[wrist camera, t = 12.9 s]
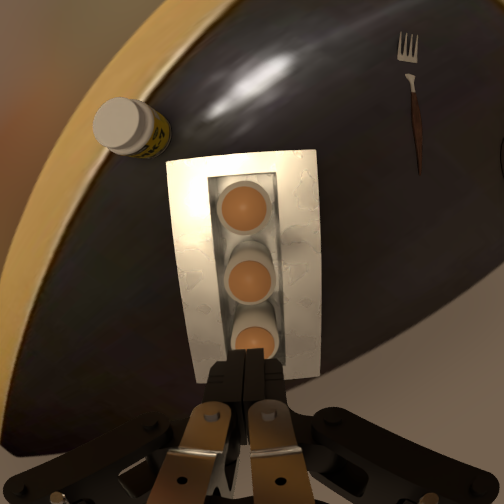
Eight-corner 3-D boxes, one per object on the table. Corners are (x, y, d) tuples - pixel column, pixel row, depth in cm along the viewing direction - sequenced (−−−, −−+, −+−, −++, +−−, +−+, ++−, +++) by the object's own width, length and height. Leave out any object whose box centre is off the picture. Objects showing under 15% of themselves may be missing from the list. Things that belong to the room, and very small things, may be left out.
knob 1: (266, 179, 28) (270, 178, 22) (269, 223, 28) (273, 234, 23) (222, 182, 28) (213, 183, 22) (226, 226, 29) (218, 238, 23)
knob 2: (270, 239, 29) (275, 254, 23) (273, 280, 30) (277, 305, 24) (227, 242, 29) (220, 258, 23) (231, 283, 30) (225, 308, 24)
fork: (407, 174, 29) (416, 175, 27) (391, 37, 25) (399, 30, 23) (427, 175, 29) (436, 176, 27) (411, 41, 25) (419, 35, 23)
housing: (306, 156, 28) (322, 149, 22) (312, 338, 33) (325, 375, 26) (181, 166, 29) (159, 162, 22) (202, 345, 33) (191, 383, 26)
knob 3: (274, 295, 30) (278, 322, 24) (276, 331, 31) (280, 364, 25) (232, 298, 30) (227, 325, 24) (236, 334, 31) (232, 366, 25)
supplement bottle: (148, 168, 29) (111, 166, 21) (119, 137, 28) (77, 127, 20) (182, 134, 28) (156, 118, 20) (152, 103, 27) (118, 80, 19)
